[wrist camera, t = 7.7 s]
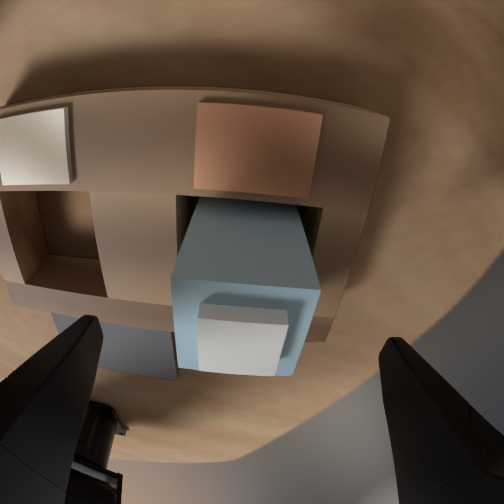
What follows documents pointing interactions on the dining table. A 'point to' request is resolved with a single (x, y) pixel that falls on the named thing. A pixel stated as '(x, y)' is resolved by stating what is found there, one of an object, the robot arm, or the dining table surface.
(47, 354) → the robot arm
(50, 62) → the dining table surface
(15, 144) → the socket block
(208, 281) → the plug
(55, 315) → the pad
